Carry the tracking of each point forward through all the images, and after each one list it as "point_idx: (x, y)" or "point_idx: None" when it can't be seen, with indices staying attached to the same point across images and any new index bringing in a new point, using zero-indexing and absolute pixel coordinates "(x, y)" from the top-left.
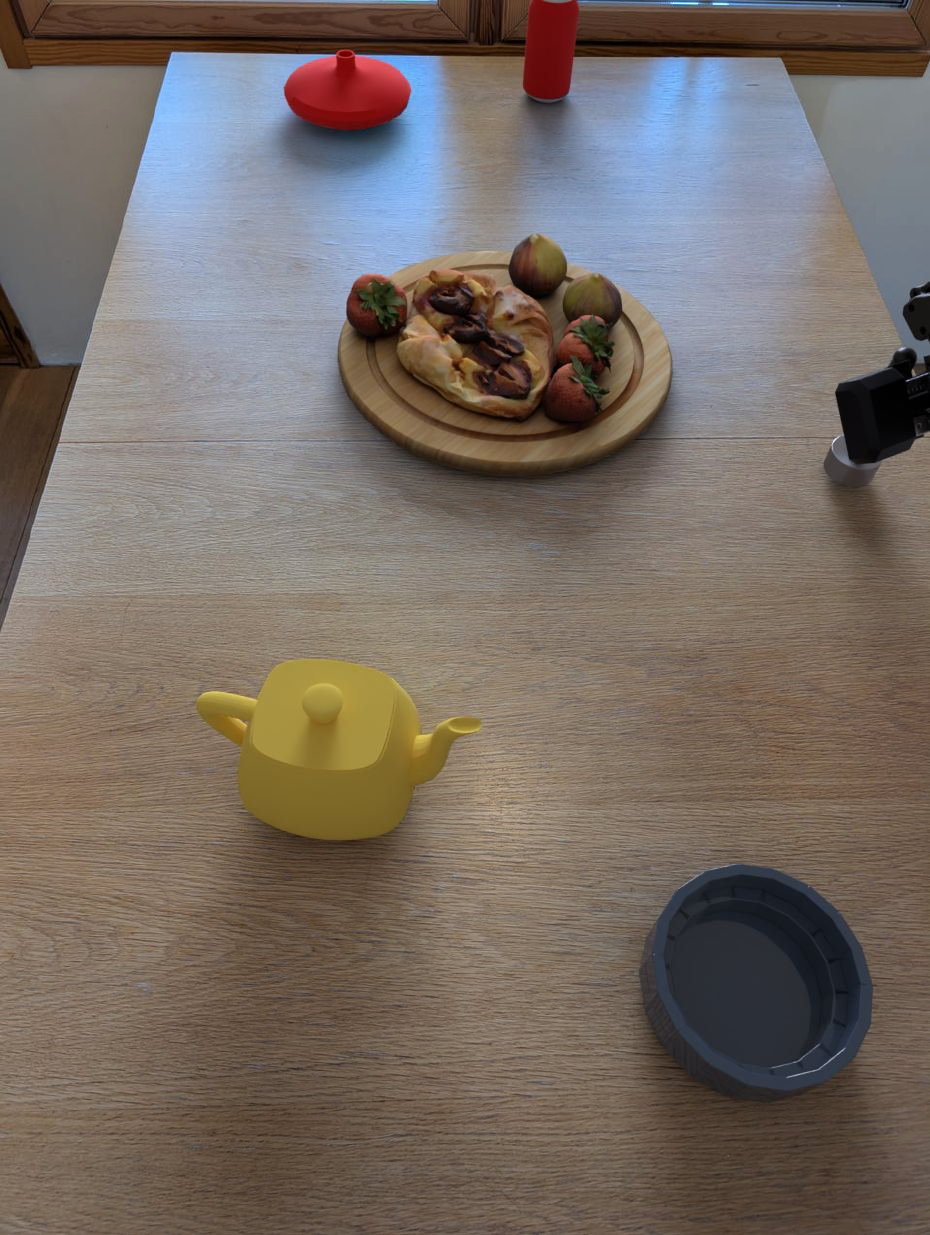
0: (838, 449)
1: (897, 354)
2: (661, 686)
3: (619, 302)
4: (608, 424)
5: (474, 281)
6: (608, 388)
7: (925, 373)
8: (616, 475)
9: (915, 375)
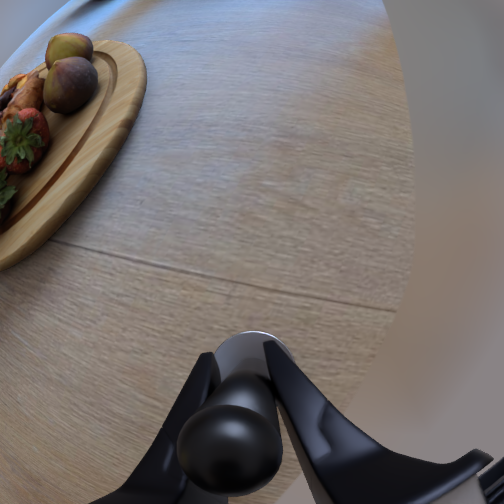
0: (222, 361)
1: (179, 449)
2: (18, 480)
3: (70, 83)
4: (13, 232)
5: (23, 80)
6: (13, 193)
7: (314, 473)
8: (21, 285)
9: (301, 442)
